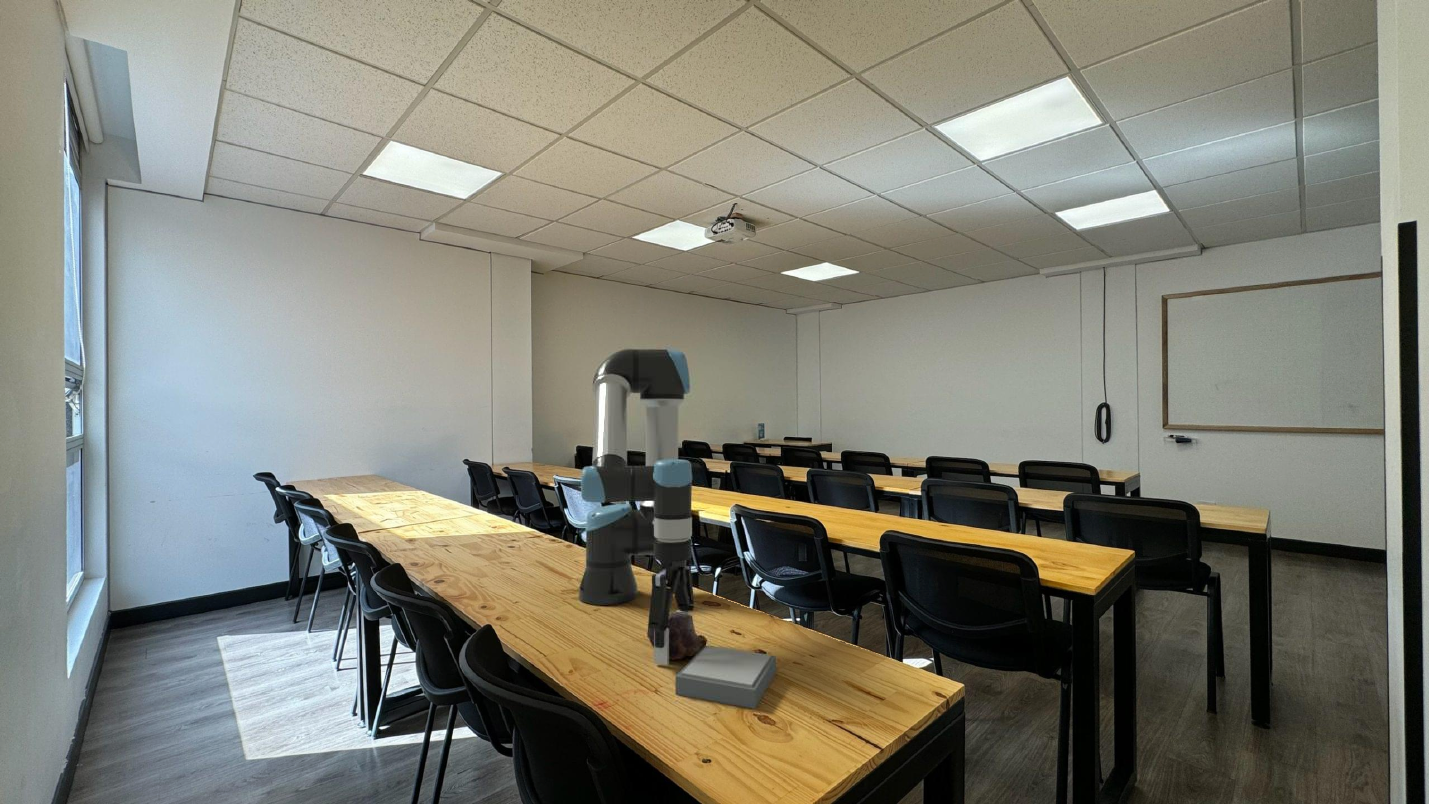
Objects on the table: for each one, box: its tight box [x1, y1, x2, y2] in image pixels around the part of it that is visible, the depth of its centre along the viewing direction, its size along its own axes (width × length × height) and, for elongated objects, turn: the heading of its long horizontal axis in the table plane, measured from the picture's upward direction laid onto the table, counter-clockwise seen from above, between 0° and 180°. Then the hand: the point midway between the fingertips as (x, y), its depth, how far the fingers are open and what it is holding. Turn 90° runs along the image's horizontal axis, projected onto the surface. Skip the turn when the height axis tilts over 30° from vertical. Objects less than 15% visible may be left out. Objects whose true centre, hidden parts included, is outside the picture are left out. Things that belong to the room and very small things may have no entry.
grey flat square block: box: [674, 644, 777, 710], centre depth 102 cm, size 14×14×3 cm
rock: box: [646, 612, 708, 660], centre depth 113 cm, size 12×9×10 cm
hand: (672, 652), depth 113 cm, fingers closed on rock, 9 cm apart
